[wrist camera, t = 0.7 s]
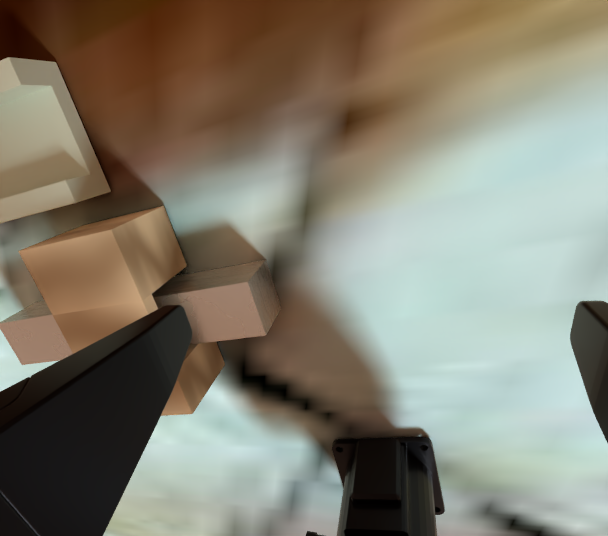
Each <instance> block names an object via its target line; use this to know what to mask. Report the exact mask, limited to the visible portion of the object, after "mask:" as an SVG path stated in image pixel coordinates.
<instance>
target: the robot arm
mask: <svg viewBox="0 0 608 536" xmlns="http://www.w3.org/2000/svg"><path fill="white" fill-rule="evenodd" d="M191 339H192V329H191V326H190V323H189V320H188V318H187V315H186V312H185V310H184V308H183V307H182V306H181V305H165V306H163V307H161V308H159V309H157V310H155V311H154V312H152V313H150V314H148V315H146V316H144V317H142V318H140V319H138V320H136V321H134V322H133V323H131V324H129V325H127V326H125V327H123V328H121V329H119V330H117V331H115V332H114V333H112V334H110V335H108V336H106V337H104V338H102V339H100V340H98V341H96V342H95V343H93V344H91V345H89V346H87V347H85V348H83V349H81V350H79V351H77V352H76V353H74V354H72V355H70V356H68V357H66V358H64V359H62V360H60V361H58V362H56V363H55V364H53V365H51V366H49V367H47V368H45V369H43V370H41V371H39V372H37V373H36V374H34V375H32V376H31V378H30V377H28V378H26V379H24V380H22V381H20V382H18V383H16V384H14V385H13V386H11V387H9V388H7V389H5V390H3V391H1V392H0V536H103V534H104V532H105V530H106V528H107V526H108V524H109V522H110V520H111V518H112V516H113V513H114V511H115V509H116V507H117V505H118V503H119V501H120V499H121V497H122V495H123V493H124V491H125V489H126V487H127V485H128V482H129V480H130V478H131V476H132V474H133V472H134V470H135V468H136V466H137V464H138V462H139V460H140V458H141V456H142V453H143V451H144V449H145V447H146V445H147V443H148V441H149V439H150V437H151V435H152V433H153V431H154V429H155V427H156V425H157V422H158V420H159V418H160V416H161V414H162V412H163V410H164V408H165V406H166V404H167V402H168V400H169V398H170V395H171V393H172V391H173V389H174V386H175V384H176V381H177V378H178V376H179V373H180V370H181V367H182V364H183V362H184V359H185V356H186V353H187V351H188V348H189V345H190V342H191ZM570 341H571V345H572V349H573V352H574V355H575V358H576V361H577V364H578V367H579V370H580V373H581V376H582V379H583V383H584V386H585V389H586V392H587V395H588V398H589V401H590V404H591V407H592V409H593V412H594V414H595V417H596V419H597V421H598V423H599V426H600V428H601V430H602V432H603V434H604V436H605V438H606V441H607V443H608V303H606V302H604V301H581V302H579V303H578V305H577V306H576V310H575V314H574V319H573V324H572V328H571V333H570ZM422 445H426V446H422ZM339 447H341V448H339ZM332 450H333V453H334V457H335V460H336V463H337V467H338V470H339V473H340V476H341V480H342V483H343V486H344V490H343V496H342V503H341V510H340V517H339V524H338V531H337V536H437V529H436V518H435V515H441V514H443V513H444V510H445V509H444V502H443V497H442V492H441V487H440V481H439V476H438V471H437V466H436V461H435V456H434V450H433V445H432V442H431V440H430V439H429V438H426V437H402V438H367V439H338V440H335V441H334V442H333V447H332ZM306 536H324V535H317V533H316V532H310V531H307V534H306Z"/></svg>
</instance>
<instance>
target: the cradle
mask: <svg viewBox="0 0 608 536" xmlns="http://www.w3.org/2000/svg"><path fill="white" fill-rule="evenodd" d="M108 192H111V190H110V188H109V185H108V183H107V181H106V178H105V176H104V174H103V171H102V169H101V166H100V164H99V162H98V159H97V157H96V155H95V152H94V150H93V148H92V145H91V143H90V141H89V138H88V136H87V134H86V131H85V129H84V127H83V124H82V122H81V120H80V117H79V115H78V113H77V110H76V108H75V106H74V103H73V101H72V99H71V96H70V94H69V92H68V89H67V87H66V85H65V82H64V80H63V78H62V75H61V73H60V71H59V68H58V66H57V64H56V62H50V61H40V60H31V59H21V58H12V57H8V58H5V59H3V60H1V61H0V223H3V222H6V221H10V220H14V219H18V218H21V217H25V216H29V215H32V214H36V213H40V212H44V211H47V210H51V209H55V208H59V207H62V206H66V205H70V204H74V203H77V202H80V201H83V200H86V199H90V198H93V197H96V196H99V195H102V194H105V193H108Z"/></svg>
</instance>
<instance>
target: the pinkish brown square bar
mask: <svg viewBox="0 0 608 536" xmlns="http://www.w3.org/2000/svg"><path fill="white" fill-rule="evenodd" d="M152 296H153V298H154V301H155V303H156V305H157V308H158V309H159V308H161V307H163V306H165V305H181V306H182V307H183V308H184V310H185V312H186V315H187V318H188V320H189V323H190V326H191V329H192V339H191V342H190V345H191V344H199V343H207V342H216V341H224V340H232V339H241V338H249V337H257V336H266V335H267V333H268V331H269V329H270V327H271V326H272V324H273V322H274V320H275V319H276V317H277V315H278V313H279V311H280V310H281V305H280V302H279V298H278V295H277V292H276V289H275V286H274V283H273V280H272V276H271V273H270V270H269V267H268V264H267V261H266V260H261V261H255V262H250V263H245V264H239V265H234V266H228V267H223V268H217V269H212V270H207V271H201V272H196V273H190V274H185V275H179V276H174V277H172V278H171V279H170V280H168V281H167V282H166V283H165V284H163V285H162V286H161V287H160V288H158V289H157V290H156V291H154V292H153V293H152ZM0 329H1V331H2V332H3V334H4V336H5V337H6V339H7V341H8V342H9V344H10V346H11V347H12V349H13V351H14V352H15V354H16V356H17V357H18V359H19V361H20V362H21V364H22V365H25V364H33V363H41V362H50V361H58V360H62V359H64V358H66V357H68V356H70V355H72V354H73V353H72V351H71V349H70V347H69V345H68V343H67V341H66V339H65V338H64V336H63V334H62V332H61V330H60V328H59V326H58V325H57V323H56V321H55V319H54V317H53V315H52V313H51V311H50V310H49V308H48V306H47V304H46V302H45V300H43V301H38V302H35V303H34V304H32V305H30V306H28V307H26V308H25V309H23V310H21V311H19V312H18V313H16V314H14V315H12V316H11V317H9V318H7V319H5V320H3V321H2V322H0Z"/></svg>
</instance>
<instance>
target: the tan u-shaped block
mask: <svg viewBox="0 0 608 536" xmlns="http://www.w3.org/2000/svg"><path fill="white" fill-rule="evenodd" d="M18 252H19V253H20V255H21V257H22V259H23V261H24V263H25V265H26V267H27V268H28V270H29V272H30V274H31V276H32V278H33V280H34V281H35V283H36V285H37V287H38V289H39V291H40V293H41V295H42V296H43V298H44V300H45V302H46V304H47V306H48V308H49V310H50V311H51V313H52V315H53V317H54V319H55V321H56V323H57V325H58V326H59V328H60V330H61V332H62V334H63V336H64V338H65V339H66V341H67V343H68V345H69V347H70V349H71V351H72V353H73V354H74V353H76V352H77V351H79V350H81V349H83V348H85V347H87V346H89V345H91V344H93V343H95V342H96V341H98V340H100V339H102V338H104V337H106V336H108V335H110V334H112V333H114V332H115V331H117V330H119V329H121V328H123V327H125V326H127V325H129V324H131V323H133V322H134V321H136V320H138V319H140V318H142V317H144V316H146V315H148V314H150V313H152V312H154V311H155V310H157V309H158V308H157V305H156V303H155V301H154V298H153V296H152V293H153V292H154V291H156V290H157V289H158V288H160V287H161V286H162V285H163V284H165V283H166V282H167V281H168V280H170V279H171V278H172V277H174V276H175V275H176V274H177V273H179V272H180V271H181V270H182V269H184V268H185V267H186V266H187V265H186V262H185V260H184V257H183V254H182V252H181V249H180V247H179V244H178V242H177V239H176V236H175V234H174V231H173V229H172V226H171V223H170V221H169V218H168V216H167V213H166V211H165V208H164V206H160V207H156V208H152V209H148V210H144V211H140V212H136V213H132V214H128V215H123V216H119V217H115V218H111V219H107V220H103V221H99V222H95V223H91V224H86V225H82V226H80V227H78V228H75V229H73V230H70V231H68V232H65V233H63V234H60V235H58V236H55V237H53V238H50V239H48V240H45V241H43V242H40V243H38V244H35V245H33V246H30V247H28V248H25V249H23V250H20V251H18ZM224 365H225V363H224V360H223V358H222V355H221V353H220V350H219V347H218V345H217V342H207V343H199V344H191V345H189V348H188V351H187V353H186V356H185V359H184V362H183V364H182V367H181V370H180V373H179V376H178V378H177V381H176V384H175V386H174V389H173V391H172V393H171V395H170V398H169V400H168V402H167V404H166V406H165V408H164V410H163V412H162V414H161V416H162V415H180V414H193V412H194V411H195V409H196V408H197V406H198V405H199V403H200V402H201V400H202V399H203V397H204V396H205V394H206V393H207V391H208V390H209V388H210V386H211V385H212V383H213V382H214V380H215V379H216V377H217V376H218V374H219V373H220V371H221V370H222V368H223V367H224Z"/></svg>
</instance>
